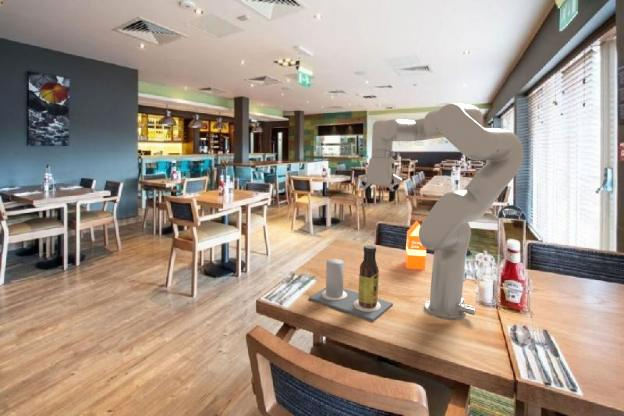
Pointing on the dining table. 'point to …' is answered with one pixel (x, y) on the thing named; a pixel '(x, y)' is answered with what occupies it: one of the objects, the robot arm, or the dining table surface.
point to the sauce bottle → (368, 278)
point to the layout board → (345, 294)
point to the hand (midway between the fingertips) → (379, 199)
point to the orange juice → (415, 249)
